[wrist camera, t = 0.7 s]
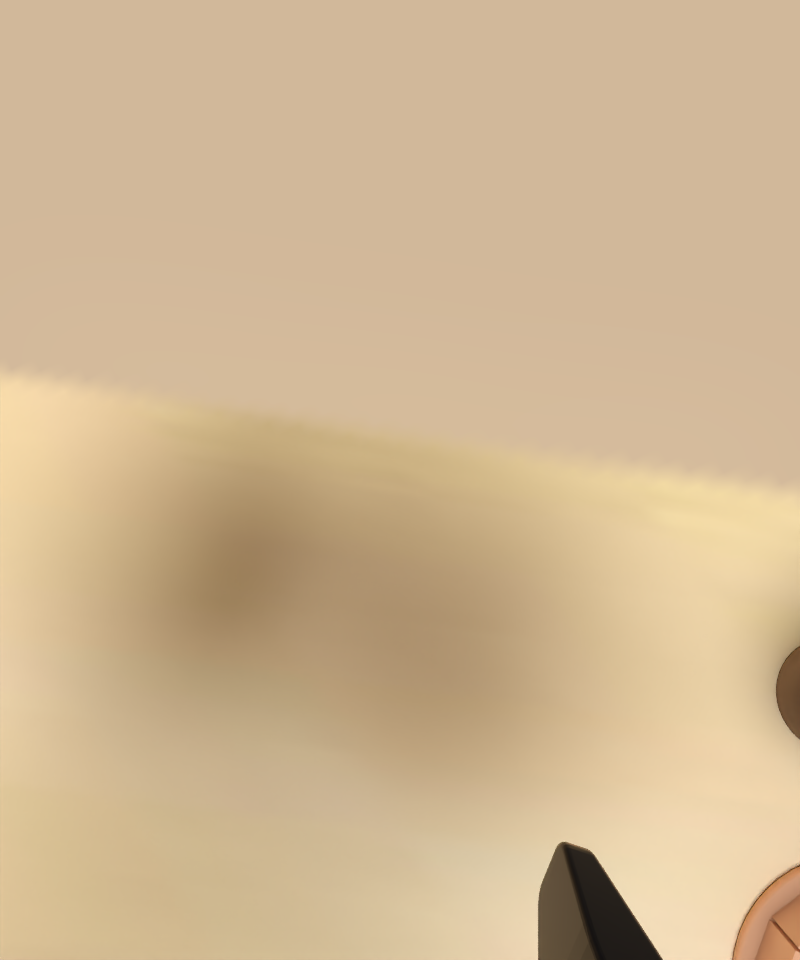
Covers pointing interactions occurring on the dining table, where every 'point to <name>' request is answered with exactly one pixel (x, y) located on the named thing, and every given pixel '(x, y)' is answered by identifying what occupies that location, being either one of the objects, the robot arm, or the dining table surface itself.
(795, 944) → the dish
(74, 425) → the dining table surface
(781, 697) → the pepper mill
